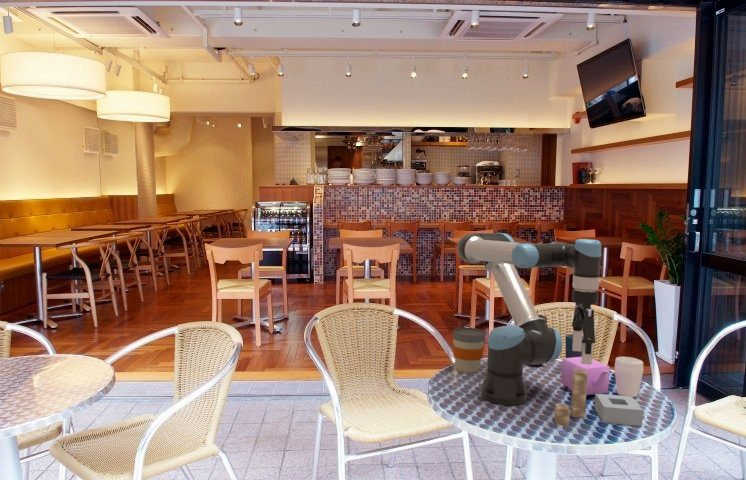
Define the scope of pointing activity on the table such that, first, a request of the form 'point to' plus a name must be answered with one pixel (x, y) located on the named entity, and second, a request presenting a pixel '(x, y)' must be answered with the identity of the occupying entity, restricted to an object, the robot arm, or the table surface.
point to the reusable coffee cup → (468, 348)
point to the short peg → (562, 414)
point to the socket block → (618, 409)
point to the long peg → (579, 393)
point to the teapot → (595, 375)
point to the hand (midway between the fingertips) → (581, 357)
